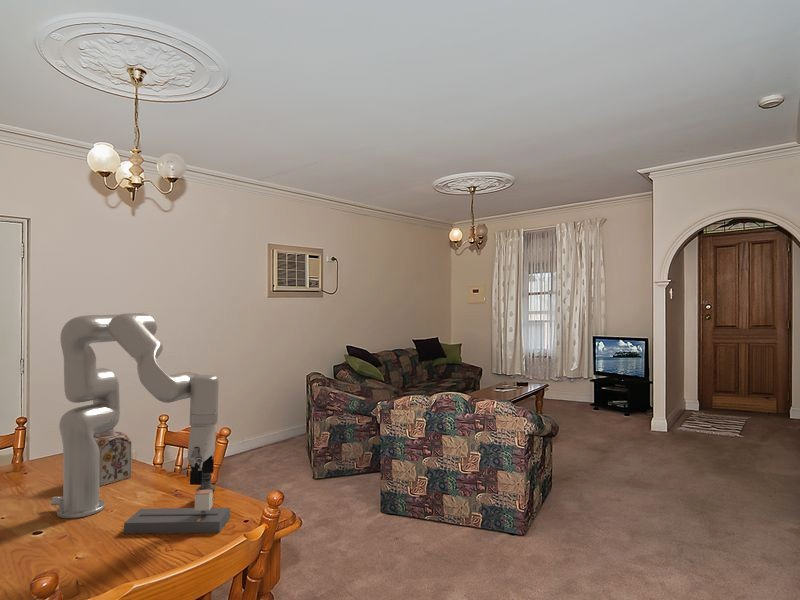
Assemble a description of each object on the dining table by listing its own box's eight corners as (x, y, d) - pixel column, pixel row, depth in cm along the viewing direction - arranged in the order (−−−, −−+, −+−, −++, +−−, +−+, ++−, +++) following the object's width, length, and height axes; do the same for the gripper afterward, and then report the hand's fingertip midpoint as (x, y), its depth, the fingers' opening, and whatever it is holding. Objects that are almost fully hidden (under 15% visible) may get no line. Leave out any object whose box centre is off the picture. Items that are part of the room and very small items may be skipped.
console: (124, 533, 144) (124, 522, 144) (140, 519, 154) (140, 508, 154) (219, 532, 145) (219, 520, 145) (230, 517, 155) (230, 506, 155)
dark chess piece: (209, 503, 166) (209, 465, 166) (192, 502, 167) (192, 464, 167) (219, 496, 172) (219, 460, 172) (202, 495, 173) (203, 459, 173)
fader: (194, 515, 148) (194, 493, 148) (198, 511, 151) (198, 489, 151) (209, 515, 148) (209, 493, 148) (212, 511, 151) (212, 489, 151)
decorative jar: (82, 481, 187) (82, 430, 187) (114, 472, 197) (114, 424, 197) (100, 487, 181) (100, 434, 181) (132, 477, 191) (133, 428, 191)
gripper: (200, 412, 159) (199, 468, 159) (178, 425, 141) (176, 489, 141) (225, 412, 159) (224, 469, 159) (206, 426, 142) (205, 489, 142)
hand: (202, 478), depth 150 cm, fingers open, 9 cm apart
